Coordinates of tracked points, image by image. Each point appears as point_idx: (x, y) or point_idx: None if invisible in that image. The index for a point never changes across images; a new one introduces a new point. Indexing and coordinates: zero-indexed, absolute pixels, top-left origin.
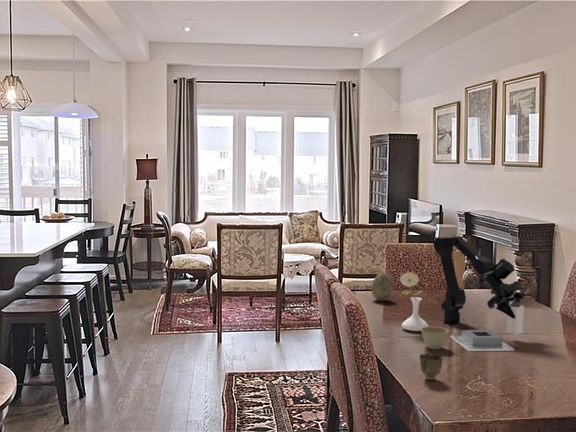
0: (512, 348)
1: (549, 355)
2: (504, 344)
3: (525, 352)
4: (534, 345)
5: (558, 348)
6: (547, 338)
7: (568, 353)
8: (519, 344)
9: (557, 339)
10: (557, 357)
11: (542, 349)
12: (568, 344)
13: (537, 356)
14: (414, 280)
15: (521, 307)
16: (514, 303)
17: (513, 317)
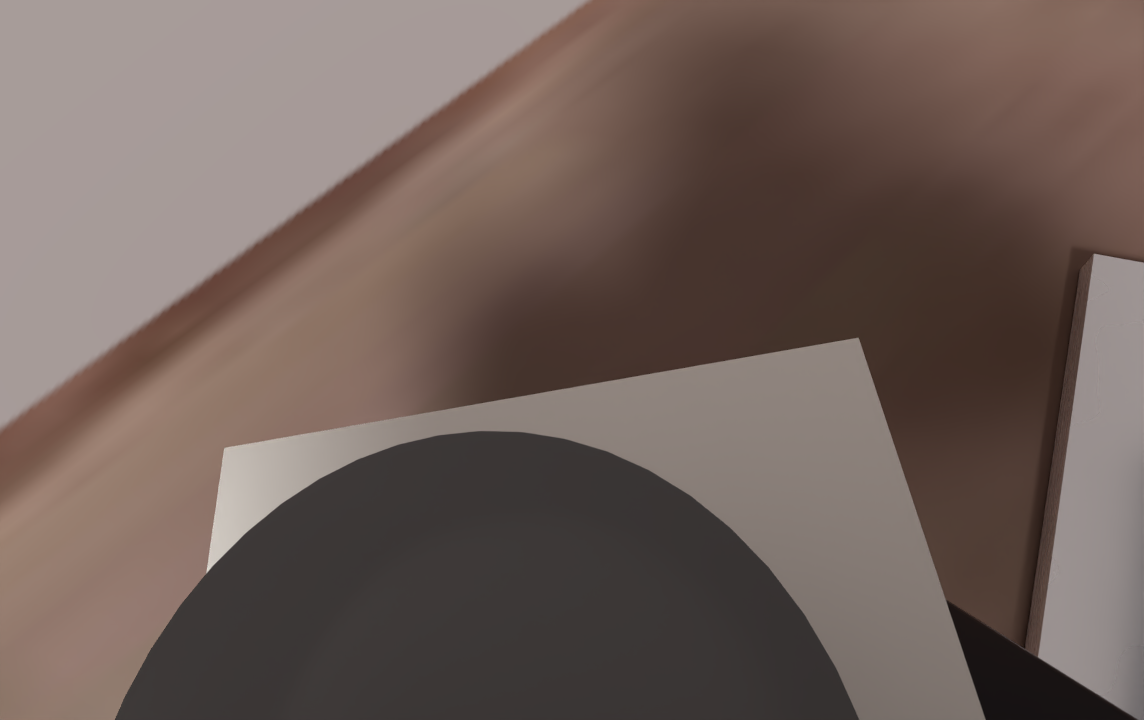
0: (1112, 272)
1: (747, 65)
2: (1123, 475)
3: (951, 191)
4: (599, 379)
5: (447, 215)
6: (163, 569)
7: (510, 80)
8: None
9: (116, 483)
10: (719, 12)
11: (644, 230)
12: (221, 293)
13: (908, 61)
14: None
15: (441, 421)
16: (834, 703)
17: None
